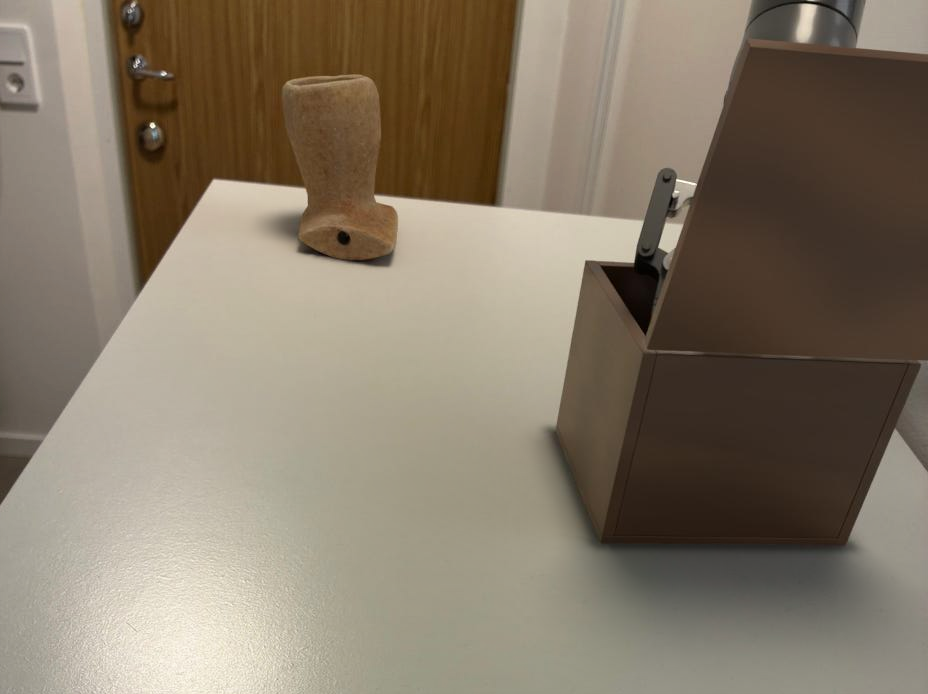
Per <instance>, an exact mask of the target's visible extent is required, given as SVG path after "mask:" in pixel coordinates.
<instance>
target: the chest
mask: <svg viewBox="0 0 928 694" xmlns="http://www.w3.org/2000/svg"><path fill="white" fill-rule="evenodd" d="M656 290H657V284H656V281H655V280H654V279H653V278H652V277H650V276H649V275H647V274H646V275H640V274H638V273H636V272H635V270H634V262H628V261H627V262H625V261H606V260H589V259H588V260H587V259H585V261H584V266H583V271H582V278H581V283H580V289H579V293H578V300H577V306H576V312H575V317H574V324H573V327H572V328H573V329H572V334H571V340H570V345H569V351H568V357H567V362H566V369H565V374H564V380H563V386H562V390H561V391H562V392H561V397H560V402H559V408H558V409H559V410H558V413H557V419H556V426H555V432H554V433H555V435H556V437H557V439H558V441H559V444H560V446H561V449H562V451H563V453H564V456H565V459H566V461H567V464H568V467H569V469H570V472H571V474H572V476H573V479H574V482H575V483H576V486H577V489H578V492H579V494H580V496H581V499H582V501H583V503H584V506H585V509H586V511H587V514H588V516H589V518H590V521H591V524H592V526H593V528H594V532H595V533H596V536H597V539H598V541H599V543H600V544H659V545H660V544H662V545H663V544H664V545H667V544H670V545H671V544H673V545H751V546H752V545H755V546H756V545H759V546H763V545H764V546H766V545H767V546H768V545H770V546H847V543H848V541H849V539H850V536H851V533H852V531H853V529H854V527H855V524H856V523H857V520H858V517H859V514H860V512H861V509H862V508H863V505H864V503H865V500H866V498H867V495H868V494H869V491H870V489H871V486H872V484H873V481H874V479H875V476H876V474H877V472H878V469H879V467H880V465H881V462H882V460H883V457H884V455H885V453H886V450H887V448H888V445H889V443H890V441H891V438H892V436H893V433H894V432H895V429H896V426H897V424H898V422H899V420H900V417H901V415H902V412H903V410H904V408H905V406H906V403H907V400H908V398H909V396H910V393H911V392H912V391H911V390H912V389H913V386H914V384H915V381H916V379H917V377H918V374H919V372H920V370H921V367H922V363H920V362H919V360H895V359H870V358H845V357H819V356H794V355H769V354H744V353H719V352H693V351H668V350H647V348H646V345H645V342H644V340H645V337H646V334H647V331H648V328H649V321H650V317H651V312H652V308H653V304H654V299H655V295H656Z"/></svg>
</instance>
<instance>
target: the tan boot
mask: <svg viewBox="0 0 928 694" xmlns="http://www.w3.org/2000/svg"><path fill="white" fill-rule="evenodd" d="M281 99H282V107H283V117H284V126H285V130H286V133H287V137H288V140H289V142H290V144H291V148H292V151H293V154H294V156H295V160H296V163H297V167H298V168H299V172H300V174H301V178H302V181H303V184H304V188H305V191H306V195H307V206H306V208H305V210H304V211H303V213H302V214H301V215H302V216H301V220H300V225H299V231H298V235H297V236H298V240H299V241H300V242H302V243H303V244H305V245H306V246H308V247H310V248H311V249H313V250H315V251H317V252H319V253H322V254H324V255H327V256H328V257H331V258H335V259H339V260H346V261H364V260H370V259H375V258H378V257H384V256H386V255H388V254H390V253H392V251H394V248H395V246H396V243H397V238H398V230H399V215H398V211H397V210H396V208H395V207H394V206H392V205H389V204H384V203H381V202H378V201H376V198H375V184H376V172H377V165H378V158H379V153H380V149H381V141H382V123H381V122H382V121H381V107H380V95H379V91H378V88H377V85H376V83H375V82H374V80H373V79H372V78H369V77H368V76H367V75H363V74H339V75H334V76H333V75H332V76H331V75H318V76H317V75H316V76H306V77H299V78H294V79H290V80H288V81H286V82H285V83H284V84H283V86H282V89H281Z"/></svg>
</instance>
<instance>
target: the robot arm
mask: <svg viewBox="0 0 928 694" xmlns="http://www.w3.org/2000/svg"><path fill="white" fill-rule="evenodd" d="M866 2H867V0H751V1H750V5H749V6H750V7H749V11H748V15H747V19H746V24H745V28H744V34H743V37H742V40H741V44H740V46H739V49H738V51H737V54H736V57H735V59H734V62H733V66H732V68H731V71H730V76H729V81H728V84H727V89H726V91H725V94H724V97H723V103H722V107H723V106H724V103H725V100H726V97H727V94H728V91H729V88H730V85H731V82H732V79H733V76H734V73H735V70H736V67H737V64H738V61H739V58H740V55H741V52H742V50H743V47H744V44H745V41H746V39H759V40H771V41H782V42H794V43H805V44H816V45H828V46H839V47H850V48H857V44H858V40H859V35H860V30H861V26H862V22H863V16H864V12H865V7H866ZM696 186H697V182H691V181H687V180H681V179H678V174H677V172H676V171H675V169H673V168H671V167H665V168H662V169H660V170H659V172H658V173H657V176H656V179H655V182H654V186H653V190H652V192H651V196H650V199H649V203H648V206H647V210H646V214H645V216H644V219H643V223H642V225H641V230H640V234H639V237H638V239H637V243H636V249H635V254H634V262H633V263H634V270H635V272H636V273H638V274H640V275H646V274H647V275H649V276H650V277H652V278H653V279H654V280H655V281H656V284H657V290H656V295H655V299H654V304H653V308H652V312H651V317H650V321H649V325H650V322H651V319H652V316H653V313H654V310H655V307H656V304H657V301H658V298H659V295H660V292H661V289H662V286H663V283H664V281H665V278H666V275H667V272H668V269H669V266H670V263H671V260H672V257H673V254H674V251H675V248H676V247H674V248H673V249H672V250H671V251H670V252H667V251H665V250H664V249H663V248H660V242H661V239H662V235H663V233H664V230H665V226H666V222H667V219H674V218H677V217H679V216H680V215H681V213H682V211H683V209H684V208H685V207H689V206H690V204H691V201H692V198H693V195H694V192H695V189H696Z"/></svg>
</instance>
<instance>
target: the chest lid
mask: <svg viewBox="0 0 928 694" xmlns="http://www.w3.org/2000/svg"><path fill="white" fill-rule="evenodd" d="M723 103H724V102H723ZM696 184H697V186H696V189H695V192H694V195H693V198H692V201H691V204H690V205H688V210H687V212H686V216H685V219H684V222H683V225H682V228H681V230H680V233H679V236H678V239H677V243H676V245H675V247H674V248H675V251H674V254H673V257H672V260H671V263H670V266H669V269H668V272H667V275H666V278H665V281H664V283H663V286H662V289H661V292H660V295H659V298H658V301H657V304H656V307H655V310H654V313H653V316H652V319H651V322H650V325H649V328H648V331H647V334H646V337H645V340H644V342H645V345H646V348H647V350H668V351H693V352H719V353H744V354H769V355H794V356H819V357H845V358H870V359H895V360H917V361H920V362H921V361H922V362H923V361H924V362H927V361H928V53H919V52H918V53H916V52H906V51H894V50H885V49H883V50H882V49H871V48H862V47H861V48H859V47H856V48H850V47H839V46H828V45H816V44H805V43H794V42H782V41H771V40H759V39H746V41H745V44H744V47H743V50H742V52H741V55H740V58H739V61H738V64H737V67H736V70H735V73H734V76H733V79H732V82H731V85H730V88H729V91H728V94H727V97H726V100H725V103H724V106H723V105H722V109H721V111H720V115H719V118H718V121H717V124H716V127H715V130H714V131H713V135H712V138H711V142H710V145H709V148H708V150H707V153H706V155H705V159H704V162H703V165H702V168H701V172H700V173H699V177H698V180H697V182H696Z"/></svg>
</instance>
